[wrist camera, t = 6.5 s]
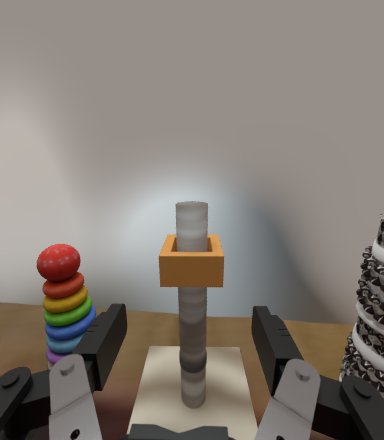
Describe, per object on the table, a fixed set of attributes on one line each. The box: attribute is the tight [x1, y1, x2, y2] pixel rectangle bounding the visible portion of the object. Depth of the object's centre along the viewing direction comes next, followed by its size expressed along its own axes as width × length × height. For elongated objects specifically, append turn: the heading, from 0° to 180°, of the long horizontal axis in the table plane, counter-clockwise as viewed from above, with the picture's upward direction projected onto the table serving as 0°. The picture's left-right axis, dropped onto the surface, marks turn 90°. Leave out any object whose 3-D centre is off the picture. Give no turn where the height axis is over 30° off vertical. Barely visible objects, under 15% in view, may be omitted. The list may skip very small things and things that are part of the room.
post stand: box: [127, 201, 258, 440], centre depth 23 cm, size 14×14×26 cm
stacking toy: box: [37, 244, 97, 370], centre depth 30 cm, size 8×8×19 cm
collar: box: [159, 235, 224, 287], centre depth 21 cm, size 6×6×3 cm
